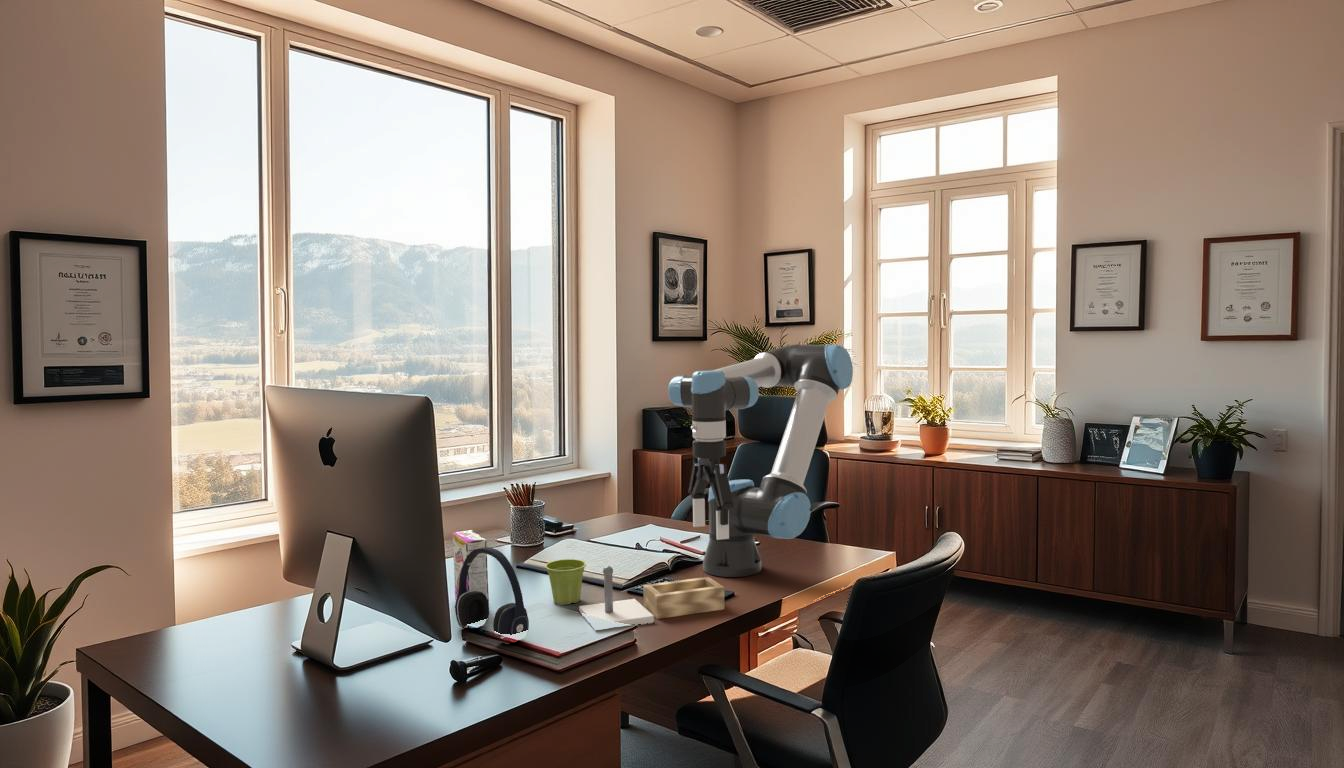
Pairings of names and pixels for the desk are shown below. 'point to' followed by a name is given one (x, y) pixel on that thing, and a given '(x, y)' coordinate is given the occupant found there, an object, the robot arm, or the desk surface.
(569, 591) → the plant pot
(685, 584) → the wooden planter box
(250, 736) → the desk surface
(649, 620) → the peg stand
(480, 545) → the candy bar box
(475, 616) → the headphones
